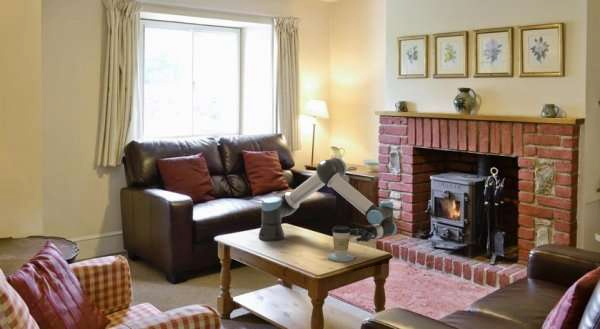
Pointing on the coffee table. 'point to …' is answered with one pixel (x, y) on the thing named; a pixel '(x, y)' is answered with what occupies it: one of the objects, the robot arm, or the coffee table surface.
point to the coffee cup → (341, 240)
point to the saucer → (340, 259)
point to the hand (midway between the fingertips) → (342, 237)
